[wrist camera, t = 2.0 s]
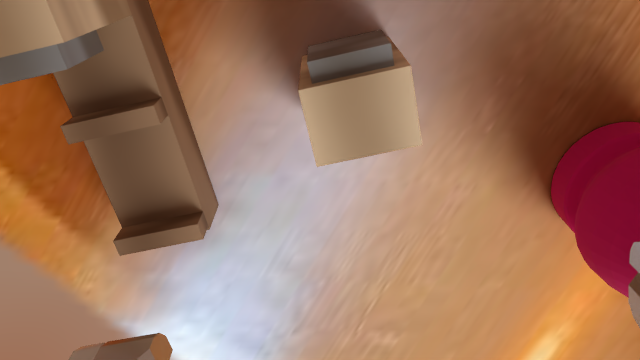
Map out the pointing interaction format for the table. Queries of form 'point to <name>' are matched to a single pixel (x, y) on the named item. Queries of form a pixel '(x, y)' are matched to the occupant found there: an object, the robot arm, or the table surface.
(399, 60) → the grey-banded wooden block
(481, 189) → the table surface
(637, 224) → the pepper mill
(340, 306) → the table surface
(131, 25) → the rail
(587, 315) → the table surface
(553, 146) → the table surface
